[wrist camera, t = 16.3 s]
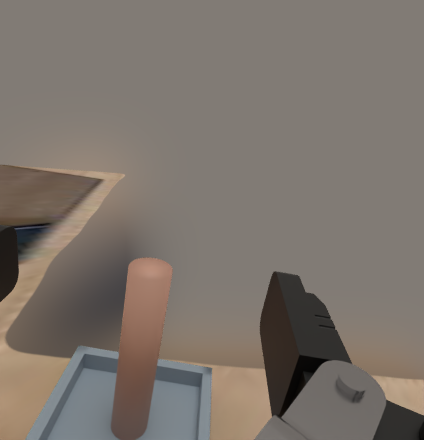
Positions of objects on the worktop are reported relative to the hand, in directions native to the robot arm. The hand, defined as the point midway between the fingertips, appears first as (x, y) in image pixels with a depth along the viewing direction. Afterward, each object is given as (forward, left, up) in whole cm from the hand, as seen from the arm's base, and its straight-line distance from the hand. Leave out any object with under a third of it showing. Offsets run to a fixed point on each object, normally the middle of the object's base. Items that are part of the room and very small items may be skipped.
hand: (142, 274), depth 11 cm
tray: (+2, -14, -26) cm, 29 cm away
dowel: (+2, -14, -25) cm, 28 cm away
